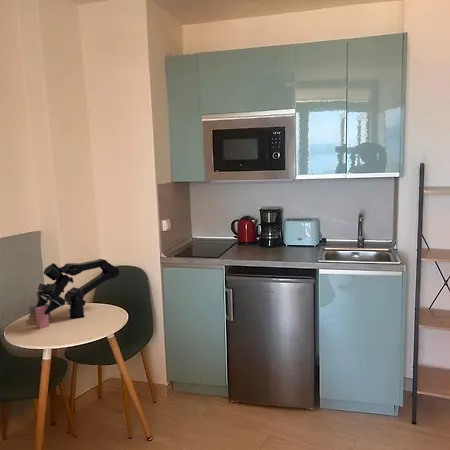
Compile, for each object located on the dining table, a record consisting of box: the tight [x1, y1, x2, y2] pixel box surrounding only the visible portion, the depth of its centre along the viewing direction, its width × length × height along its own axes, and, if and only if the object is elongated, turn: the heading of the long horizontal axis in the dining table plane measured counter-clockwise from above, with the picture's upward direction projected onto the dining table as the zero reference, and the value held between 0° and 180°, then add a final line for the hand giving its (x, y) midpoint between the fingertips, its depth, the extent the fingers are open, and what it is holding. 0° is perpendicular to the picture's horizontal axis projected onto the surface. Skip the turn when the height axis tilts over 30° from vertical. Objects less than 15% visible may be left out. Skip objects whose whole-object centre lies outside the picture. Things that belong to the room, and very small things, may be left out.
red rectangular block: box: [35, 305, 50, 330], centre depth 228 cm, size 4×4×10 cm
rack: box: [28, 303, 53, 327], centre depth 237 cm, size 10×12×7 cm
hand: (40, 312), depth 227 cm, fingers open, 9 cm apart
